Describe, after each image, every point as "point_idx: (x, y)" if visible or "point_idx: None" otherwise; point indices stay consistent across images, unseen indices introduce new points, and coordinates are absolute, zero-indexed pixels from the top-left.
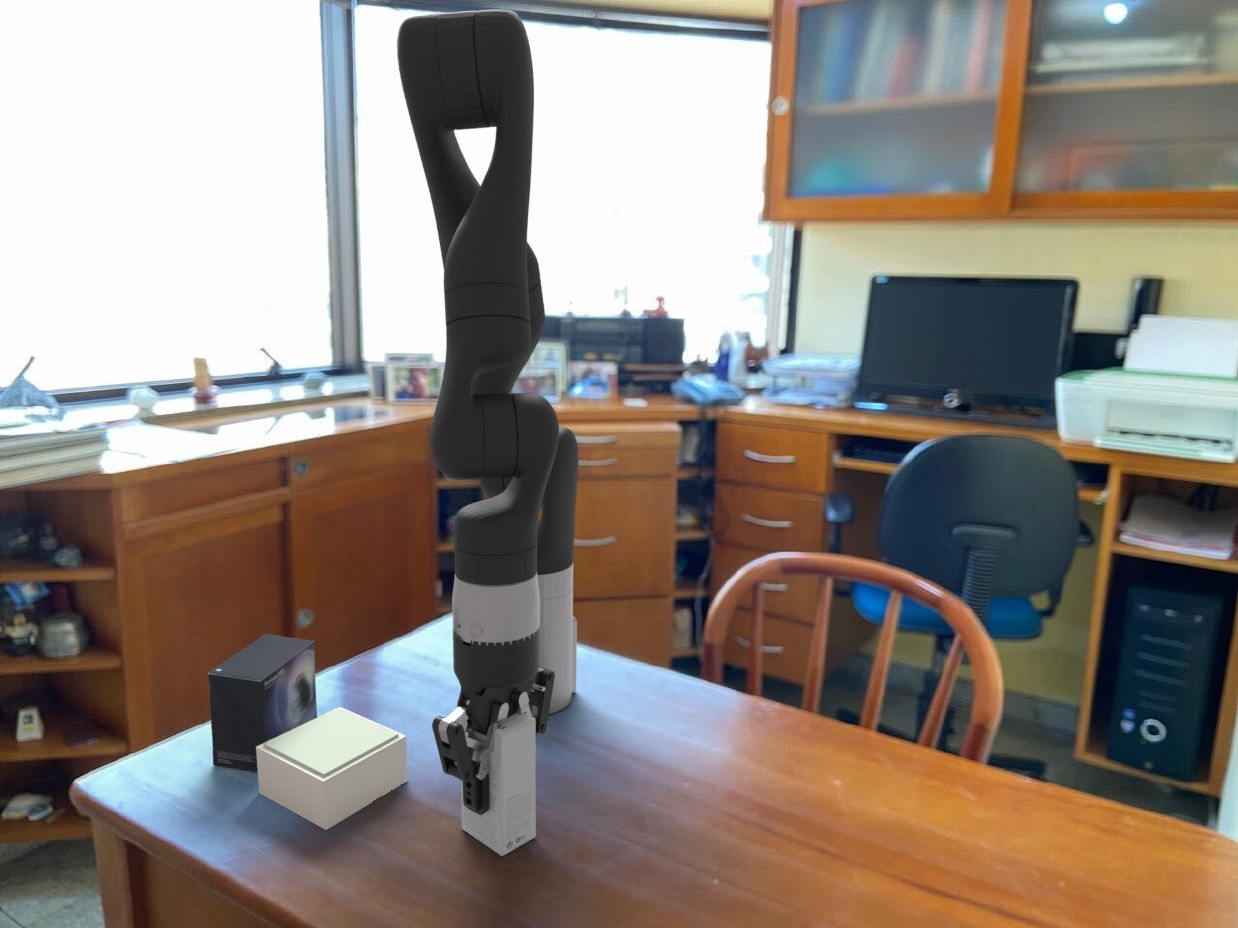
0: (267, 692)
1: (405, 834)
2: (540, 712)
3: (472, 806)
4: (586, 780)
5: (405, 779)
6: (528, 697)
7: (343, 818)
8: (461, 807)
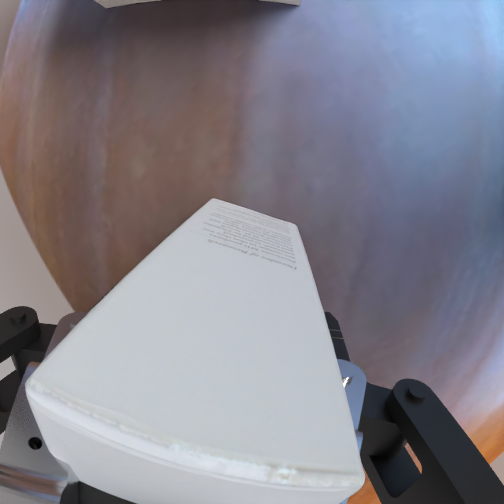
0: None
1: (148, 114)
2: (380, 493)
3: None
4: (436, 318)
5: (294, 2)
6: (429, 495)
7: (137, 2)
8: (201, 207)
